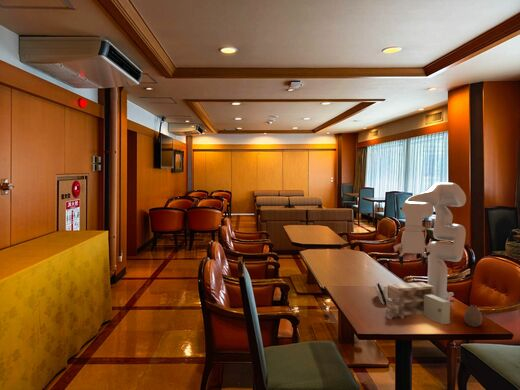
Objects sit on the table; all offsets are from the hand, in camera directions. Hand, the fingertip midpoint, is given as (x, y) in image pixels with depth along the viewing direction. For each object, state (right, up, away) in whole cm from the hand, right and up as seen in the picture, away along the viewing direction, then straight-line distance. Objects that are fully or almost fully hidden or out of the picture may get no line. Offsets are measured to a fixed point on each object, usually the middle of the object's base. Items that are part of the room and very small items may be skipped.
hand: (412, 264), depth 181 cm
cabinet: (-2, -24, +3) cm, 24 cm away
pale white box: (+9, -24, -5) cm, 26 cm away
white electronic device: (-7, -24, +24) cm, 34 cm away
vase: (+22, -25, -11) cm, 35 cm away
